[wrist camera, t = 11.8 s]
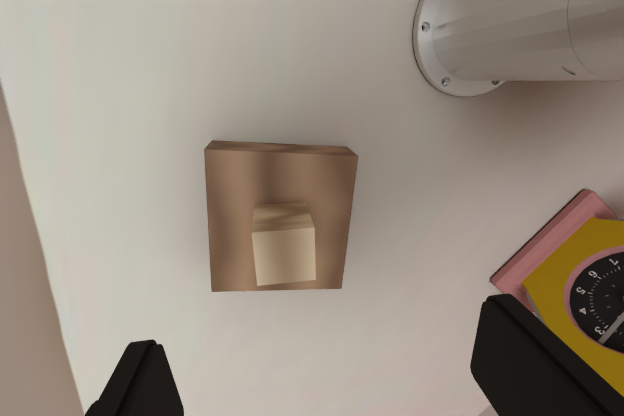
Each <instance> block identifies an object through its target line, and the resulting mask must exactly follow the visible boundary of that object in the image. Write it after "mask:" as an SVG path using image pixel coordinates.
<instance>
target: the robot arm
mask: <svg viewBox="0 0 624 416" xmlns="http://www.w3.org/2000/svg"><path fill="white" fill-rule="evenodd" d="M421 26H423V31H422V30H421ZM413 46H414V51H415V56H416V60H417V63H418V65H419V68H420V70H421V72H422V73H423V75H424V76H425V78H426V79H427V80H428V81H429V82H430V83H431V84H432V85H433V86H434V87H435V88H437V89H438V90H440V91H442V92H443V93H446V94H449V95H452V96H460V97H473V96H477V95H482V94H485V93H487V92H490V91H492V90H494V89H496V88H497V87H499V86H500V85H502V84H503V83H505V82H506V81H620V80H624V0H421V1H420V3H419V6H418V9H417V12H416V16H415V21H414V29H413ZM442 79H443V83H442ZM470 368H471V372H472V375H473V377H474V379H475V380H476V382H477V383H478V385H479V386H480V388H481V389H482V391H483V393H484V394H485V396H486V397H487V399H488V400H489V402H490V403H491V405H492V406H493V408H494V409H495V410H496V412H497V414H498V415H499V416H624V397H623V396H622V395H621V394H620V393H619V392H617V391H616V390H615V389H614V388H613V387H612V386H611V385H610V384H609V383H608V382H607V381H606V380H604V379H603V378H602V377H601V376H600V375H599V374H598V373H597V372H596V371H595V370H594V369H592V368H591V367H590V366H589V365H588V364H587V363H586V362H585V361H584V360H583V359H582V358H581V357H579V356H578V355H577V354H576V353H575V352H574V351H573V350H572V349H571V348H570V347H569V346H567V345H566V344H565V343H564V342H563V341H562V340H561V339H560V338H559V337H558V336H557V335H556V334H554V333H553V332H552V331H551V330H550V329H549V328H548V327H547V326H546V325H545V324H544V323H542V322H541V321H540V320H539V319H538V318H537V317H536V316H535V315H534V314H533V313H532V312H531V311H529V310H528V309H527V308H526V307H525V306H524V305H523V304H522V303H521V302H520V301H519V300H517V299H516V298H515V297H514V296H513V295H511V294H508V293H507V294H500V295H492V296H488V297H487V299H486V301H485V302H483V304H482V307H481V312H480V318H479V323H478V328H477V333H476V338H475V344H474V349H473V354H472V359H471V365H470ZM85 416H184V409H183V405H182V402H181V399H180V396H179V393H178V390H177V387H176V384H175V381H174V378H173V375H172V372H171V369H170V366H169V363H168V360H167V357H166V354H165V351H164V348H163V346H162V345H161V344H157V343H156V341H155V340H145V341H138V342H131V343H130V344H129V345H128V346H127V348H126V349H125V351H124V353H123V355H122V357H121V359H120V361H119V363H118V364H117V366H116V368H115V370H114V372H113V374H112V376H111V378H110V379H109V381H108V383H107V385H106V387H105V389H104V391H103V392H102V394H101V396H100V398H99V400H97V401H95V402H94V403H93V404H92V405H91V406H90V408H89V409H88V411H87V412H86V414H85Z"/></svg>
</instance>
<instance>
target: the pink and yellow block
mask: <svg viewBox="0 0 624 416" xmlns="http://www.w3.org/2000/svg"><path fill="white" fill-rule="evenodd" d="M491 283H492V284H493V285H495V286H496V287H497V288H498V289H499V290H501V291H502V292H503V293H504V294H507V293H508V294H511V295H513V296H514V297H515V298H516V299H517V300H519V301H520V302H521V303H522V304H523V305H524V306H525V307H526V308H527V309H528V310H529V311H531V312H535V313H536V315H537V317H538V319H539V320H540V321H541V322H542V323H544V324H545V325H546V326H547V327H548V328H549V329H550V330H551V331H552V332H553V333H554V334H556V335H557V336H558V337H559V338H560V339H561V340H562V341H563V342H564V343H565V344H566V345H567V346H569V347H570V348H571V349H572V350H573V351H574V352H575V353H576V354H577V355H578V356H579V357H581V358H582V359H583V360H584V361H585V362H586V363H587V364H588V365H589V366H590V367H591V368H592V369H594V370H595V371H596V372H597V373H598V374H599V375H600V376H601V377H602V378H603V379H604V380H606V381H607V382H608V383H609V384H610V385H611V386H612V387H613V388H614V389H615V390H616V391H617V392H619V393H620V394H621V395H622V396H623V397H624V220H623V219H618V218H617V217H616V216H615V215H614V214H613V213H612V211H611V210H610V209H609V208H608V207H607V206H606V204H605V203H604V202H603V201H602V200H601V198H600V197H599V196H598V195H597V194H596V193H595V192H594V191H591V190H583V191H582V192H581V193H580V194H579V195H578V196H576V197H575V198H574V199H573V200H572V201H571V202H570V203H569V204H568V205H567V206H566V207H565V208H564V209H563V210H562V211H561V212H560V213H559V214H558V215H557V216H556V217H555V218H554V219H553V220H551V221H550V222H549V223H548V224H547V225H546V226H545V227H544V228H543V229H542V230H541V231H540V232H539V233H538V234H537V235H536V236H535V237H534V238H533V239H532V240H531V241H530V242H529V243H528V244H526V245H525V246H524V247H523V248H522V249H521V250H520V251H519V252H518V253H517V254H516V255H515V256H514V257H513V258H512V259H511V260H510V261H509V262H508V263H507V264H506V265H505V266H504V267H502V268H501V269H500V270H499V271H498V272H497V273H496V274H495V275H494V276H493V277H492V278H491Z"/></svg>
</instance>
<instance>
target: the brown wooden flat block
mask: <svg viewBox="0 0 624 416" xmlns="http://www.w3.org/2000/svg"><path fill="white" fill-rule="evenodd" d="M204 154H205V173H206V192H207V211H208V230H209V250H210V269H211V288H212V292H222V291H263V290H303V289H341V288H342V280H343V272H344V264H345V256H346V248H347V241H348V233H349V225H350V217H351V209H352V201H353V193H354V185H355V177H356V170H357V162H358V156H357V155H356V154H355V153H354V152H352V151H351V150H350V149H349V148H347V147H340V146H318V145H297V144H275V143H254V142H233V141H211V142H210V144H209V145H208V146H207V147H206V148H205V149H204ZM302 201H306V204H307V207H308V210H309V213H310V216H311V218H312V221H313V224H314V227H315V265H316V280H310V281H300V282H290V283H281V284H271V285H261V286H257V279H256V270H255V261H254V251H253V242H252V220H253V208H254V205H261V204H275V203H288V202H302Z"/></svg>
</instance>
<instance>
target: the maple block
mask: <svg viewBox="0 0 624 416" xmlns="http://www.w3.org/2000/svg"><path fill="white" fill-rule="evenodd" d="M252 242H253V251H254V261H255V270H256V279H257V286H261V285H271V284H281V283H290V282H300V281H310V280H316V265H315V227H314V224H313V221H312V218H311V216H310V213H309V210H308V207H307V204H306V201H302V202H288V203H275V204H261V205H254V208H253V220H252Z"/></svg>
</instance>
